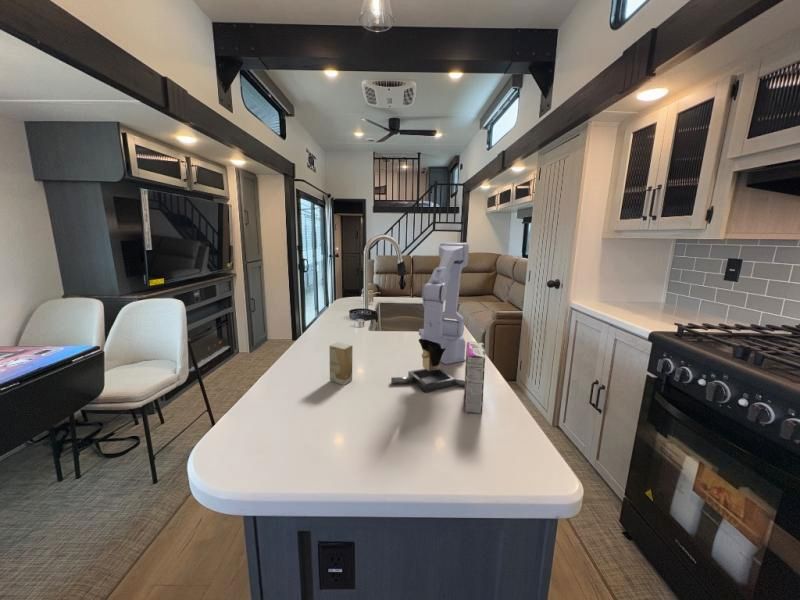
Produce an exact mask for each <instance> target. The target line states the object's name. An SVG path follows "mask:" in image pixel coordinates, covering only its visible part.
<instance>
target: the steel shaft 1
mask: <svg viewBox="0 0 800 600" xmlns="http://www.w3.org/2000/svg"><path fill="white" fill-rule="evenodd" d="M390 384H391V385H400V384H401V385H402V384H403V385H404V384H414V378H413V377H408V376H401V377H400V376H398V377H391V378H390Z"/></svg>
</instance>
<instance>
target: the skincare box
mask: <svg viewBox="0 0 800 600" xmlns="http://www.w3.org/2000/svg"><path fill="white" fill-rule="evenodd" d="M329 381H330V382H334V383H336V384H340V385H343V386H345V385H347V384H349V383H350V382H352V381H353V345H352V344H348V343H344V342H338V341H336V342H334V343H332V344H330V345H329Z"/></svg>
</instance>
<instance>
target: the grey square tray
mask: <svg viewBox="0 0 800 600" xmlns="http://www.w3.org/2000/svg"><path fill="white" fill-rule="evenodd" d="M407 375H408V376H407V377H413V378H414V383H413V384H414V385H415V386H416V388H418V389H419V390H420V391H422V392H423V393H424V394H429V393H432V392H433V393H434V392H437V391H441V390H446V389H450V388H454V387H456V386H455V385H454V382H455V381H456V379H457V378H455V377H454V376H452V375H450V374H449V373H448V372H446V371H445V370H443V369H442V368H440V369H438V370H433V371H428V370H427V369H425V368H424V367H423V368H419V369H414V370H410V371H409V370H408V374H407Z"/></svg>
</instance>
